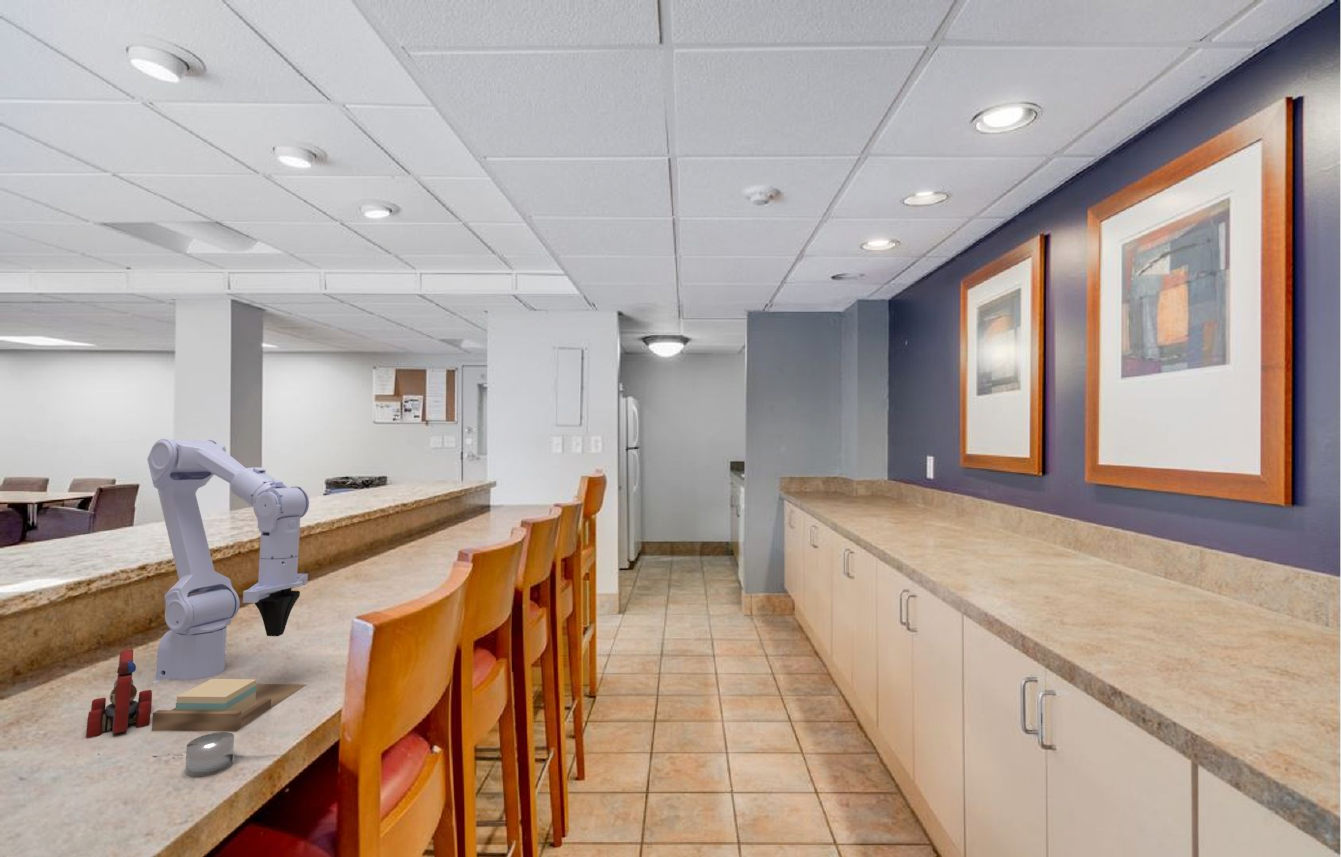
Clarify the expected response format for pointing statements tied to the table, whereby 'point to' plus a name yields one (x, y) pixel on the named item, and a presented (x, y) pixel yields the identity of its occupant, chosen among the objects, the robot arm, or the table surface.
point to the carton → (219, 696)
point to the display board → (223, 712)
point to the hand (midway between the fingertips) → (274, 635)
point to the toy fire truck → (120, 703)
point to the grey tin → (209, 754)
